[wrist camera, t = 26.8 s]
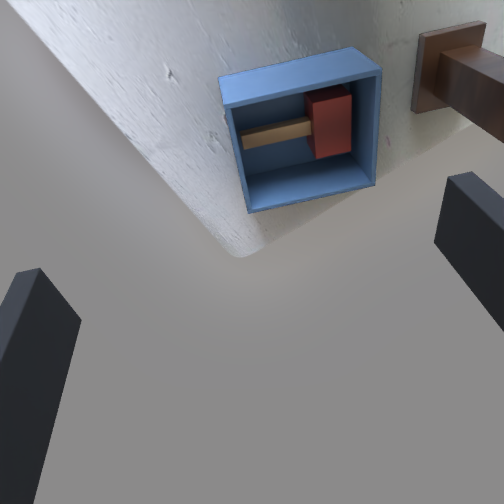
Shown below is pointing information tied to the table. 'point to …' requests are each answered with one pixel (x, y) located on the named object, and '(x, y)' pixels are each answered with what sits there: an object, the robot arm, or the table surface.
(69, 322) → the robot arm
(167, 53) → the table surface
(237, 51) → the table surface
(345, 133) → the mallet
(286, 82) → the tub
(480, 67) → the stand
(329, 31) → the table surface
